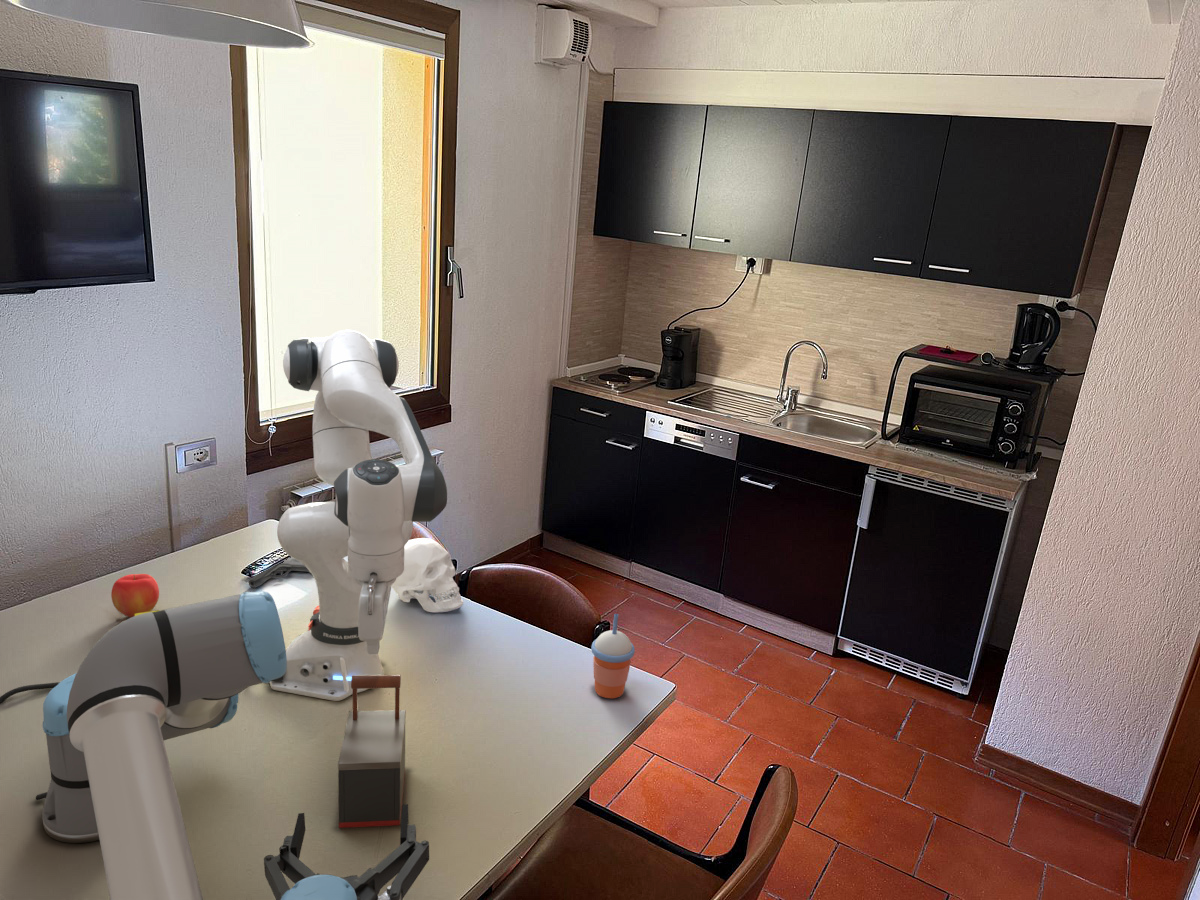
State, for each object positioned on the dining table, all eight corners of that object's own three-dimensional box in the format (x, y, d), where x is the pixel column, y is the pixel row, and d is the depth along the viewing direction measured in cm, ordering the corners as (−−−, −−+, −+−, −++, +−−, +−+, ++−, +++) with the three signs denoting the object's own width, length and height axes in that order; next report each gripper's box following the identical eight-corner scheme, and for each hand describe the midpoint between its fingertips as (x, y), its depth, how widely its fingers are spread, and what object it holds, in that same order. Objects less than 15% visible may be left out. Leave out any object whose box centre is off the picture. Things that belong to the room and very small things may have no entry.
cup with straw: (626, 706, 176) (634, 628, 171) (583, 698, 178) (590, 621, 173) (633, 683, 185) (641, 608, 180) (592, 675, 186) (599, 601, 181)
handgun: (292, 594, 211) (247, 586, 213) (325, 565, 228) (283, 558, 229) (291, 586, 211) (246, 578, 212) (325, 557, 227) (283, 550, 229)
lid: (349, 717, 148) (348, 668, 145) (405, 716, 150) (406, 667, 147) (338, 770, 135) (337, 718, 132) (400, 768, 137) (400, 716, 134)
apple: (164, 620, 195) (160, 580, 192) (116, 629, 189) (112, 588, 186) (157, 602, 202) (154, 563, 199) (111, 610, 197) (107, 571, 194)
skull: (448, 622, 203) (451, 561, 199) (372, 599, 211) (374, 540, 207) (477, 602, 215) (480, 543, 211) (405, 581, 223) (406, 524, 219)
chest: (349, 773, 151) (348, 720, 147) (404, 771, 152) (405, 718, 149) (338, 827, 138) (338, 770, 135) (399, 825, 140) (400, 768, 137)
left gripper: (220, 985, 95) (259, 849, 115) (448, 958, 99) (447, 832, 119) (214, 930, 93) (255, 801, 113) (447, 905, 97) (447, 786, 117)
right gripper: (391, 590, 128) (390, 671, 132) (400, 536, 148) (400, 607, 152) (347, 590, 127) (348, 671, 131) (363, 535, 147) (363, 607, 151)
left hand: (354, 816), depth 116 cm, fingers open, 13 cm apart
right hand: (376, 636), depth 142 cm, fingers open, 8 cm apart
